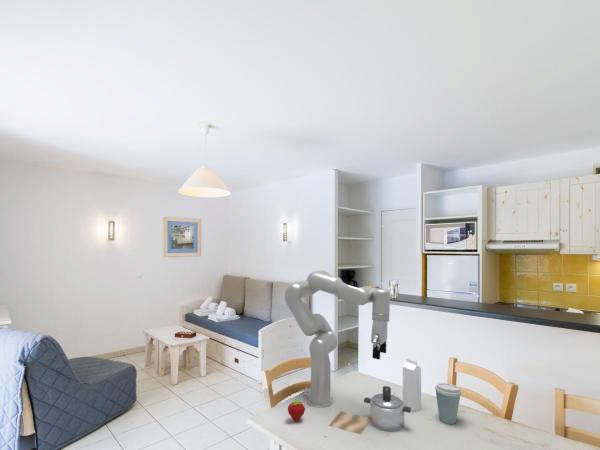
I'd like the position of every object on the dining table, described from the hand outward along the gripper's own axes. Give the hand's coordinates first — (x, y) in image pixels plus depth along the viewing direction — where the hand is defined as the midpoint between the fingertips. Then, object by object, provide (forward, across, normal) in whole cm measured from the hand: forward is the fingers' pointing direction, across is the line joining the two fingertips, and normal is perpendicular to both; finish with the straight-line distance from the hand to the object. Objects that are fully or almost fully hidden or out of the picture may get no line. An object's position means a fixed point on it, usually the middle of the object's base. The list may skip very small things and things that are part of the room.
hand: (379, 355), depth 150 cm
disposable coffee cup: (+26, -14, +28) cm, 41 cm away
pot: (+27, +3, +5) cm, 28 cm away
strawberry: (+28, +21, -29) cm, 46 cm away
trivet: (+28, +10, -9) cm, 31 cm away
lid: (+18, +3, +5) cm, 19 cm away
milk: (+27, -17, +11) cm, 34 cm away
